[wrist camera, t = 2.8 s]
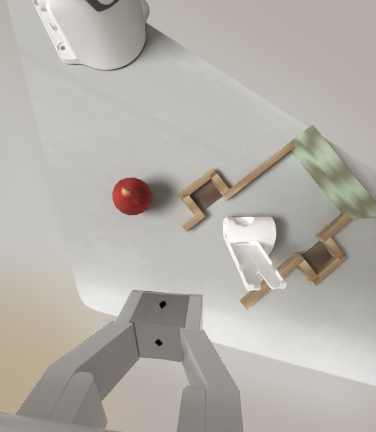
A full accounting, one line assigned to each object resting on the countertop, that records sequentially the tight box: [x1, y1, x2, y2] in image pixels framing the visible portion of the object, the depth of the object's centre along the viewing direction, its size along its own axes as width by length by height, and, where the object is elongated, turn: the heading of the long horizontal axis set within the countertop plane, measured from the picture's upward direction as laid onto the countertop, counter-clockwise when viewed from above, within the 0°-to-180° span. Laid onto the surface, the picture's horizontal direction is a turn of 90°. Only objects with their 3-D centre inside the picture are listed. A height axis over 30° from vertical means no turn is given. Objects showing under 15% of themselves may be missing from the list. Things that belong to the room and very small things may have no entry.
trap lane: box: [179, 125, 376, 309], centre depth 34 cm, size 27×26×6 cm
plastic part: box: [223, 217, 287, 291], centre depth 31 cm, size 8×10×12 cm
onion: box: [112, 178, 151, 215], centre depth 32 cm, size 6×6×8 cm
